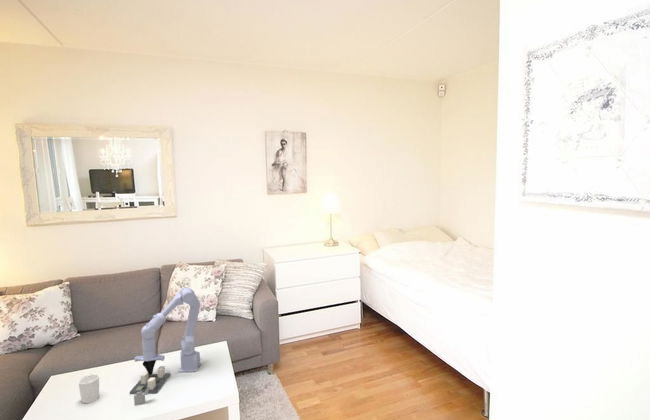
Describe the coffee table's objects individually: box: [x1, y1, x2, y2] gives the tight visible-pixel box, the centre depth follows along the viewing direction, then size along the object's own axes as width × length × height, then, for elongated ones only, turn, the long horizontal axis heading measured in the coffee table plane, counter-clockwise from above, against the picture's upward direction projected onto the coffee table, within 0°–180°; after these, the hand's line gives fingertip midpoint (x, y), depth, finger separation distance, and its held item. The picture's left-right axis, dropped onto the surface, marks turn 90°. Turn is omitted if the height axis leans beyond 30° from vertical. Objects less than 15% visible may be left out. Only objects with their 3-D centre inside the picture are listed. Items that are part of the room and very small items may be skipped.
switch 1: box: [139, 371, 149, 384], centre depth 168 cm, size 2×3×4 cm
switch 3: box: [156, 365, 166, 378], centre depth 173 cm, size 2×3×4 cm
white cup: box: [78, 373, 100, 404], centre depth 157 cm, size 8×8×10 cm
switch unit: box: [129, 372, 171, 395], centre depth 168 cm, size 13×15×1 cm
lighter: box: [133, 384, 151, 406], centre depth 154 cm, size 7×2×8 cm, turn 107°
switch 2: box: [147, 377, 156, 390], centre depth 163 cm, size 2×3×4 cm
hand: (150, 373), depth 173 cm, fingers closed
